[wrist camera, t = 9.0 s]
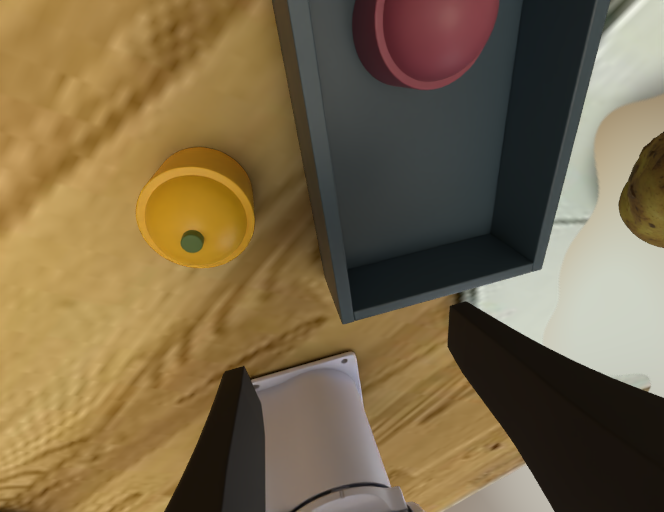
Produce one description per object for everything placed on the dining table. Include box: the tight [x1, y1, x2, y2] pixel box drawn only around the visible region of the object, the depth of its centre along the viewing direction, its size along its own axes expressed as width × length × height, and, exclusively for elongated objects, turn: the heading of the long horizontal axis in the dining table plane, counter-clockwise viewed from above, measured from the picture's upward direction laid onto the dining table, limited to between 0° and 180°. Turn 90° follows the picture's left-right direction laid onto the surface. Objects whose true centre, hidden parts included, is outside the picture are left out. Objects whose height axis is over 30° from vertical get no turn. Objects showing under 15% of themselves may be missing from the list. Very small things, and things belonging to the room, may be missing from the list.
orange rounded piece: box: [136, 147, 255, 268], centre depth 15 cm, size 5×5×6 cm
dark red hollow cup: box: [352, 0, 499, 90], centre depth 13 cm, size 5×5×5 cm
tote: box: [272, 0, 610, 324], centre depth 16 cm, size 12×17×5 cm
